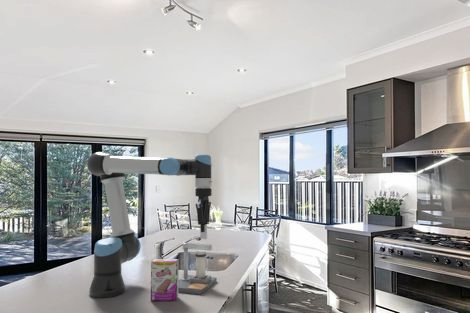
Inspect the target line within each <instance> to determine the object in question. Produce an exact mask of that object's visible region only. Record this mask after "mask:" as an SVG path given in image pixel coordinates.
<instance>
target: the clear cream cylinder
mask: <svg viewBox="0 0 470 313" xmlns="http://www.w3.org/2000/svg"><path fill="white" fill-rule="evenodd" d="M194 255H195V259H196V260H195V261H196V262H195V265H196V266H195V272H196V273H195V275H196V278H197V279H205V275H206V257H207V253H206V250H196V252H195V254H194Z"/></svg>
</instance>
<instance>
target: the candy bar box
mask: <svg viewBox="0 0 470 313" xmlns="http://www.w3.org/2000/svg"><path fill="white" fill-rule="evenodd" d="M179 261H180V260H179V259H177V258H176V259H175V258H174V259H173V258H171V259H167V258H166V259H165V258H164V259H163V258H158V259H157V258H154V259H152V261H151V265H150V267H151V268H150V271H151V272H150V301H151V302H155V301H156V302H158V301H159V302H161V301H162V302H165V301H167V302H169V301H170V302H173V301H175V302H176V301H177V300H178V297H179V292H178V280H179V270H180V265H179Z"/></svg>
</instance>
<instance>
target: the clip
mask: <svg viewBox="0 0 470 313" xmlns="http://www.w3.org/2000/svg"><path fill="white" fill-rule="evenodd" d="M184 249H188V250H196V251H210V252H211V251H212V250H213V244H209V243H208V244H207V243H192V242H191V243H190V242H182V250H184Z"/></svg>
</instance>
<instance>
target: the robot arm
mask: <svg viewBox="0 0 470 313" xmlns="http://www.w3.org/2000/svg"><path fill="white" fill-rule="evenodd" d="M212 165H213V164H212V157H211V155H209V154H196V155H195V158H194V159H192V158H191V159H183V158H174V157H148V156H146V157H145V156H142V157H141V156H123V155H121V154H119V153H115V152H105V151H97V152H94V153H92V154H91V155H90V156H89V157H88V159H87V161H86V166H87V167H86V168H87V170H88V171H89V172H90V174H92V175H93V176H96V177H99V178H100V183H103V184H104V188H105V194H106V200H107V207H108V213H109V218H110V220H109V221H110V225H111V231H112V232H111V234H110V235H109V237H107V238H101V239H100V240H97V241H96V242H95V244H94V248H93V249H94V250H93V253H94V255H93V256H94V258H93V277H92V281H91V284H90V288H89V296H90V297H92V298H100V299H102V298H103V299H104V298H112V297H117V296H120V295H121V294H124V293H125V291H126V284H125V282H124V278H123V274H122V264H124V263H126V262H130V261H132V260H133V259H135V258H136V257H137V256H138V255H139V253H140V251H141V249H142V248H141V246H142V245H141V240H140V239H139V238H138V237H137V236H136V234H135V231H134V230H133V229H131V224H130V219H129V213H128V211H129V210H128V207H127V206H128V205H127V201H126V200H127V199H126V194H125V188H124V183H123V182H124V180H125V178H126V174H135V175H136V174H138V175H140V174H141V175H161V176H177V177H181V176H195V179H194V180H195V182H194V183H195V184H194V185H195V186H194V187H195V197H198V199H197V203H195V208H196V215H197V225H198V226H199V227H200V228H199V230H200V232H199V233H200V234H199V236H200V240H207V239H208V225H210V217H211V216H210V214H211V206H212V201H209V200H210V198H209V197H211V196H213V195H212V191H213V190H212V188H211V187H212V183H213V180H212Z"/></svg>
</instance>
